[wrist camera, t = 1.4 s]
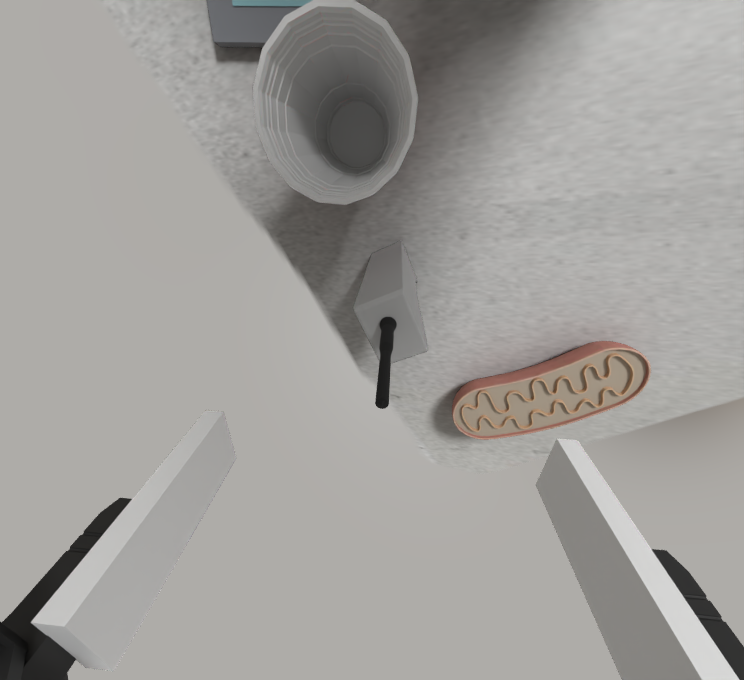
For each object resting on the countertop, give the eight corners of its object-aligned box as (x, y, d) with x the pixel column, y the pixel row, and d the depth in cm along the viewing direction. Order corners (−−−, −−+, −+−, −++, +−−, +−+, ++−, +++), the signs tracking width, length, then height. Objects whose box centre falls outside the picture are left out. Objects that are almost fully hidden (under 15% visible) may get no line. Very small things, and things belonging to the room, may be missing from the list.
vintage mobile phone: (388, 290, 37) (372, 459, 15) (371, 252, 35) (325, 385, 13) (417, 279, 36) (443, 442, 14) (401, 239, 34) (405, 359, 12)
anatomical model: (618, 316, 36) (648, 336, 32) (626, 378, 41) (654, 402, 36) (438, 376, 43) (442, 399, 38) (460, 424, 47) (467, 450, 43)
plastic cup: (377, 29, 26) (362, -70, 15) (430, 157, 30) (446, 149, 19) (279, 109, 29) (211, 73, 19) (339, 214, 33) (311, 233, 23)
